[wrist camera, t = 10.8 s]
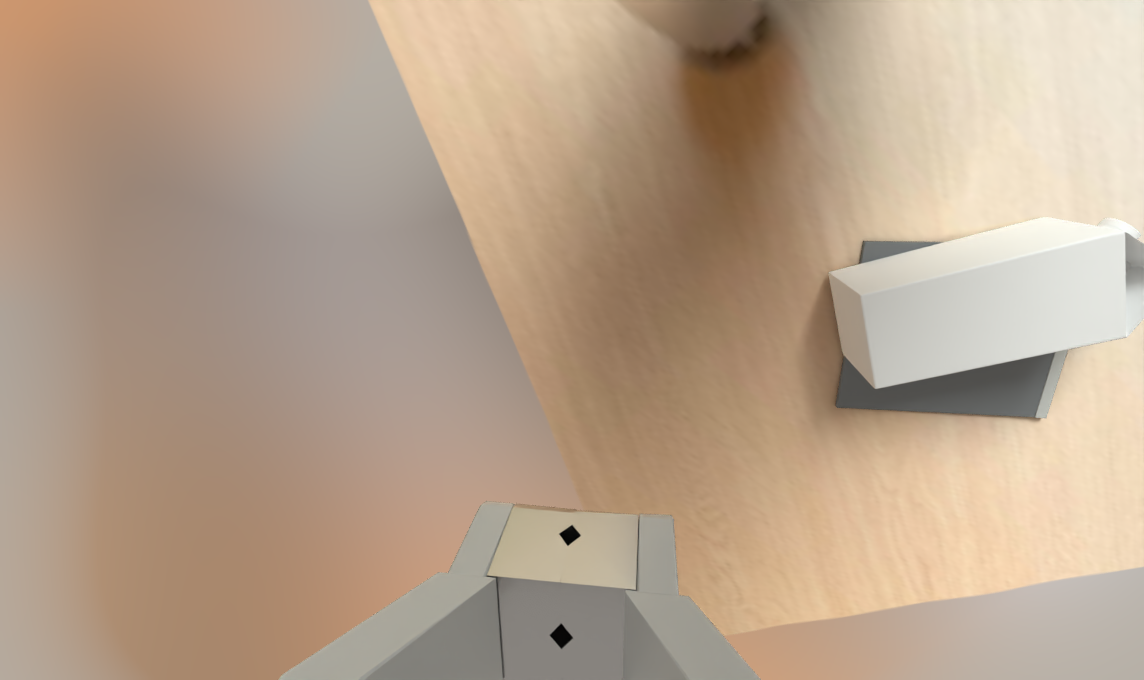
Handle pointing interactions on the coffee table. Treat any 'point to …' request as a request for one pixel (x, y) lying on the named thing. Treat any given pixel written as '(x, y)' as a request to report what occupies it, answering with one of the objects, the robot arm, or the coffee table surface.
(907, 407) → the mat
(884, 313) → the milk carton
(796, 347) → the coffee table surface
